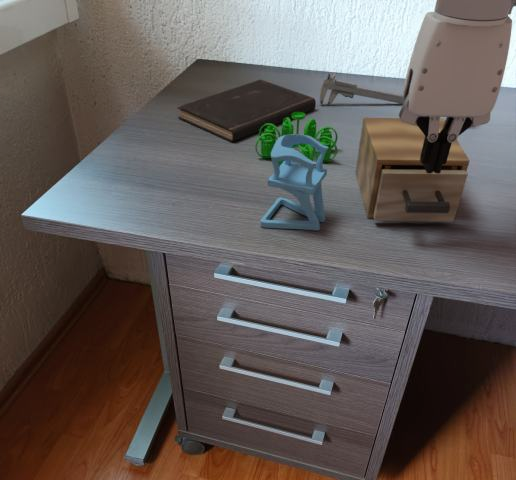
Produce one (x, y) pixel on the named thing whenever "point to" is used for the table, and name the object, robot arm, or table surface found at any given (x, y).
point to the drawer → (418, 193)
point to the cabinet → (393, 153)
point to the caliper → (354, 91)
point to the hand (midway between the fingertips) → (430, 168)
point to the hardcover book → (245, 109)
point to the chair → (297, 182)
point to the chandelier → (287, 129)
